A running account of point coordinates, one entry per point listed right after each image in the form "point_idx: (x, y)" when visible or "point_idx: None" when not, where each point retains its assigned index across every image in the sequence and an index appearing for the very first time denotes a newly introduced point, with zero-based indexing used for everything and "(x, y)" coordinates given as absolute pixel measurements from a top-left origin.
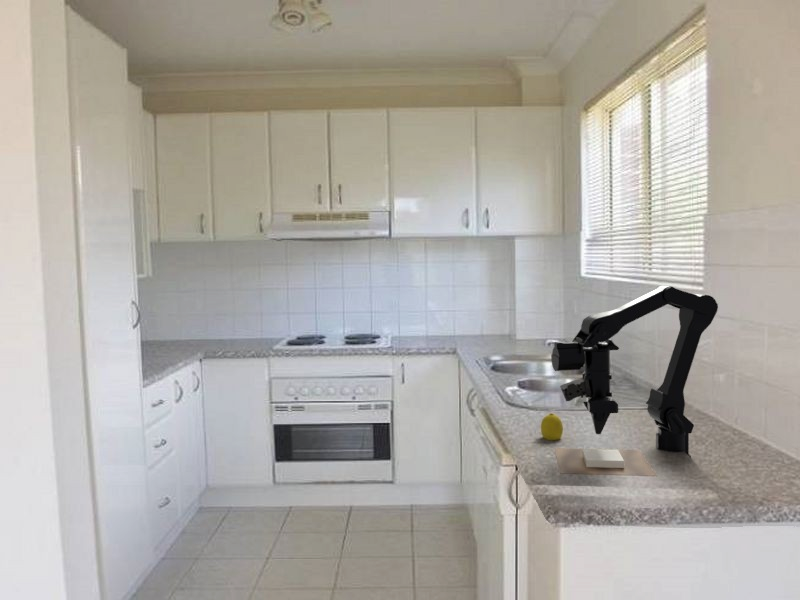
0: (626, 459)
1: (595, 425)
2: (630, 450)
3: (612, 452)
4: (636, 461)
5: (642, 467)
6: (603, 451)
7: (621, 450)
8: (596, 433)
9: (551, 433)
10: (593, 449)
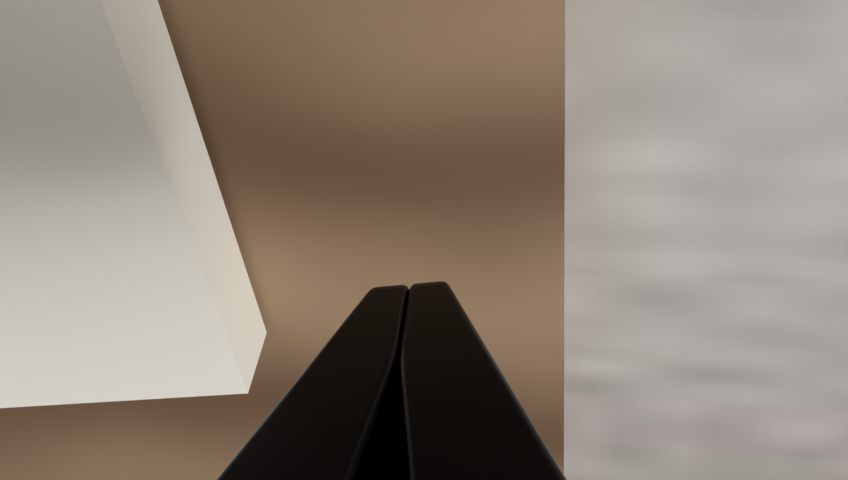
0: None
1: (258, 446)
2: (540, 434)
3: (100, 337)
4: (187, 448)
5: (31, 469)
6: (97, 244)
7: (530, 369)
8: (365, 299)
9: None
10: (135, 113)
